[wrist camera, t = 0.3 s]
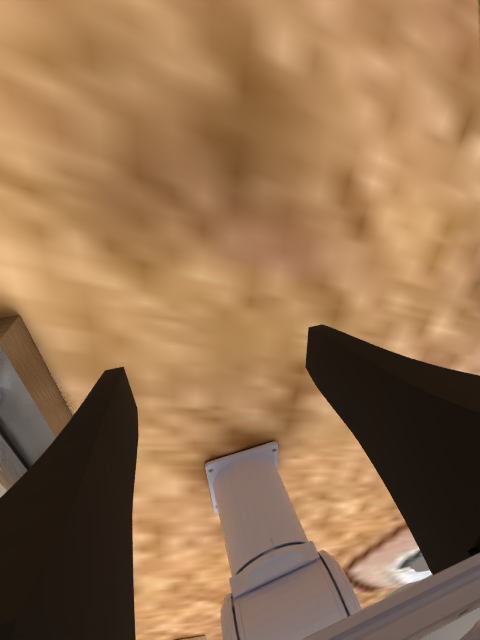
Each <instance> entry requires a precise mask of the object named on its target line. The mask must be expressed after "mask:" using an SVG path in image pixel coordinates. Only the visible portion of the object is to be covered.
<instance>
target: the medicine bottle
mask: <svg viewBox="0 0 480 640" xmlns="http://www.w3.org/2000/svg"><path fill="white" fill-rule="evenodd" d="M179 640H206V637H205V636H199V637H192V638H186V639H179Z"/></svg>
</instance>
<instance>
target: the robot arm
mask: <svg viewBox="0 0 480 640" xmlns="http://www.w3.org/2000/svg"><path fill="white" fill-rule="evenodd" d="M306 369H307V371H308V372H309V374H310V376H311V378H312V380H313V381H314V383H315V385H316V386H317V388H318V389H319V390H320V392H321V393H322V394H323V396H324V397H325V398H326V400H327V401H328V402H329V403H330V405H331V406H332V407H333V409H334V410H335V411H336V412H337V414H338V415H339V416H340V418H341V419H342V420H343V421H344V423H345V424H346V425H347V427H348V428H349V429H350V430H351V432H352V433H353V435H354V436H355V437H356V439H357V440H358V442H359V443H360V445H361V446H362V448H363V449H364V451H365V453H366V454H367V456H368V457H369V459H370V461H371V462H372V464H373V465H374V467H375V469H376V470H377V472H378V474H379V475H380V477H381V479H382V480H383V482H384V484H385V486H386V487H387V489H388V491H389V492H390V494H391V496H392V498H393V500H394V502H395V503H396V505H397V507H398V509H399V511H400V512H401V514H402V516H403V518H404V520H405V521H406V523H407V525H408V527H409V529H410V531H411V533H412V535H413V537H414V539H415V541H416V543H417V545H418V547H419V549H420V551H421V553H422V555H423V557H424V559H425V560H426V563H427V565H428V567H429V569H430V571H431V573H432V574H433V576H431V577H429V578H427V579H424V580H422V581H420V582H418V583H416V584H414V585H412V586H410V587H408V588H406V589H404V590H402V591H400V592H398V593H396V594H394V595H392V596H389V597H388V598H385V599H383V600H381V601H379V602H377V603H375V604H373V605H371V606H369V607H367V608H365V609H363V610H362V609H361V606H360V604H359V602H358V599H357V597H356V595H355V593H354V591H353V589H352V586H351V584H350V582H349V580H348V579H347V577H346V575H345V573H344V571H343V569H342V568H341V566H340V564H339V563H338V561H337V560H336V559H335V558H334V557H333V556H332V555H330V554H328V553H327V552H326V551H324V550H321V551H319V552H317V550H316V547H315V545H314V543H313V541H310V542H309V541H308V539H307V537H306V534H305V532H304V530H303V528H302V525H301V523H300V521H299V518H298V516H297V514H296V511H295V509H294V507H293V505H292V502H291V500H290V498H289V495H288V493H287V491H286V488H285V486H284V484H283V482H282V479H281V477H280V475H279V472H278V443H277V442H275V441H274V442H270V443H267V444H264V445H261V446H257V447H254V448H251V449H248V450H244V451H241V452H238V453H235V454H232V455H228V456H225V457H222V458H219V459H215V460H212V461H209V462H207V463H206V464H205V469H206V474H207V479H208V484H209V489H210V494H211V499H212V504H213V508H214V513H216V514H218V513H219V518H220V522H221V527H222V532H223V537H224V541H225V546H226V551H227V555H228V560H229V565H230V570H231V574H232V577H231V578H230V579H229V581H230V586H231V591H232V593H229V594H227V595H226V596H225V598H224V602H223V605H222V608H221V627H222V635H223V640H420V639H421V638H423V637H425V636H427V635H429V634H431V633H432V632H435V631H436V630H438V629H440V628H442V627H444V626H446V625H447V624H449V623H451V622H453V621H455V620H457V619H459V618H460V617H462V616H464V615H466V614H467V613H470V612H471V611H473V610H475V609H477V608H479V607H480V376H479V375H474V374H469V373H465V372H460V371H456V370H451V369H447V368H443V367H439V366H435V365H432V364H428V363H425V362H421V361H418V360H415V359H411V358H408V357H405V356H402V355H399V354H397V353H394V352H391V351H388V350H385V349H383V348H380V347H378V346H375V345H372V344H370V343H368V342H365V341H363V340H360V339H358V338H355V337H353V336H351V335H348V334H346V333H343V332H341V331H338V330H336V329H333V328H331V327H328V326H325V325H318V326H313V327H309V330H308V342H307V355H306ZM137 446H138V413H137V406H136V403H135V400H134V397H133V394H132V391H131V388H130V385H129V382H128V379H127V376H126V373H125V370H124V367H120V368H115V369H110V370H106V371H104V373H103V374H102V375H101V377H100V378H99V380H98V381H97V383H96V384H95V386H94V387H93V389H92V390H91V392H90V393H89V394H88V396H87V397H86V399H85V400H84V402H83V403H82V404H81V406H80V407H79V409H78V410H77V411H76V413H75V414H74V415H73V417H72V418H71V420H70V421H69V422H68V423H67V425H66V426H65V427H64V428H63V430H62V431H61V432H60V433H59V435H58V436H57V437H56V439H55V440H54V441H53V442H52V444H51V445H50V446H49V447H48V448H47V449H46V451H45V452H44V453H43V454H42V455H41V456H40V457H39V459H38V460H37V461H36V462H35V463H34V464H33V465H32V466H31V467H30V468H29V469H28V470H27V471H26V472H25V474H24V475H23V476H22V477H21V478H20V479H19V480H18V481H17V482H16V483H15V484H14V485H13V486H12V487H11V488H10V489H9V490H8V491H7V492H6V493H5V494H4V495H3V496H1V497H0V640H136V639H135V615H134V588H133V541H132V509H133V493H134V481H135V470H136V458H137ZM460 640H480V620H479V621H477V622H476V623H475V625H474V626H473V628H472V629H471V630H470V631H469V632H468V633H467V634H466V635H464V637H462V638H461V639H460Z"/></svg>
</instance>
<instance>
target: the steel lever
mask: <svg viewBox="0 0 480 640" xmlns="http://www.w3.org/2000/svg"><path fill="white" fill-rule="evenodd" d="M26 471H27V469H26V468H25V467H24V465H23V464H22V463H21V461H20V460H19V459H18V457H17V456H16V455H15V453H14V452H13V451H12V449H11V448H10V447H9V445H8V444H7V443H6V441H5V440H4V439H3V437H2V436H1V434H0V497H1V496H3V495H4V494H5V493H6V492H7V491H8V490H9V489H10V488H11V487H12V486H13V485H14V484H15V483H16V482H17V481H18V480H19V479H20V478H21V477H22V476H23V475H24V474H25V472H26Z"/></svg>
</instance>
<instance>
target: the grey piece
mask: <svg viewBox="0 0 480 640" xmlns="http://www.w3.org/2000/svg"><path fill="white" fill-rule="evenodd" d="M71 418H72V415H71V413H70V411H69V409H68V407H67V405H66V403H65V401H64V399H63V397H62V396H61V394H60V392H59V390H58V388H57V386H56V384H55V382H54V380H53V378H52V376H51V375H50V373H49V371H48V369H47V367H46V365H45V363H44V361H43V359H42V357H41V355H40V353H39V352H38V350H37V348H36V346H35V344H34V342H33V340H32V338H31V336H30V334H29V332H28V330H27V329H26V327H25V325H24V323H23V321H22V319H21V317H20V316H15V317H9V318H3V319H0V434H1V436H2V437H3V439H4V440H5V441H6V443H7V444H8V445H9V447H10V448H11V449H12V451H13V452H14V453H15V455H16V456H17V457H18V459H19V460H20V461H21V463H22V464H23V465H24V467H25V468H26V469H27V470H28V469H29V468H30V467H31V466H32V465H33V464H34V463H35V462H36V461H37V460H38V459H39V457H40V456H41V455H42V454H43V453H44V452H45V451H46V449H47V448H48V447H49V446H50V445H51V444H52V442H53V441H54V440H55V439H56V437H57V436H58V435H59V433H60V432H61V431H62V430H63V428H64V427H65V426H66V425H67V423H68V422H69V421H70V420H71Z"/></svg>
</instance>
